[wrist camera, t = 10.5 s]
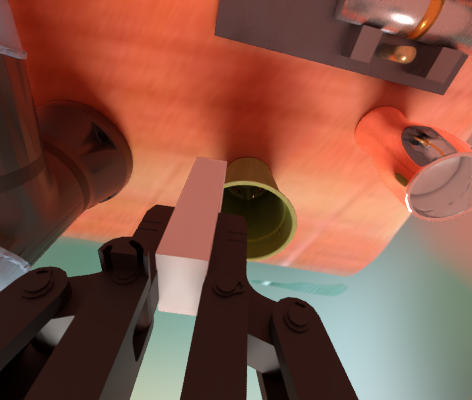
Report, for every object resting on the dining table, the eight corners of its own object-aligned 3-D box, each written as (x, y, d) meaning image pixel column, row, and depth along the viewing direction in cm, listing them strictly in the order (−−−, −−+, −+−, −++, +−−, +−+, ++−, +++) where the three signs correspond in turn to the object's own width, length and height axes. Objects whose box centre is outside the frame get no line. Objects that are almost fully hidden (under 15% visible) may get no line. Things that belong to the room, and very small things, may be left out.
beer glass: (375, 92, 31) (452, 134, 19) (421, 117, 32) (523, 172, 20) (340, 142, 35) (384, 205, 22) (382, 163, 36) (447, 234, 24)
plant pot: (205, 203, 42) (189, 252, 33) (215, 133, 36) (199, 170, 26) (275, 217, 43) (280, 270, 33) (298, 151, 36) (312, 193, 27)
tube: (334, 6, 27) (334, 28, 25) (356, -44, 23) (358, -23, 21) (460, 40, 28) (469, 64, 26) (499, -3, 24) (514, 21, 22)
